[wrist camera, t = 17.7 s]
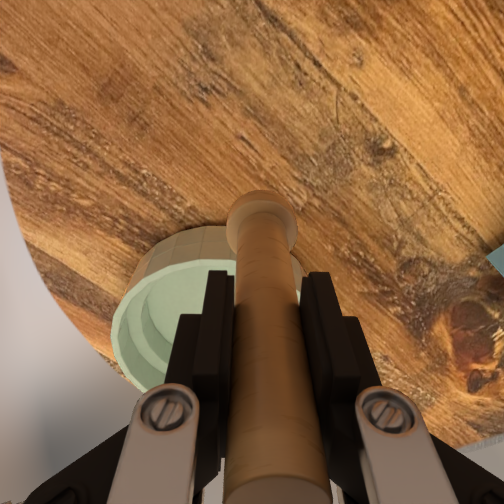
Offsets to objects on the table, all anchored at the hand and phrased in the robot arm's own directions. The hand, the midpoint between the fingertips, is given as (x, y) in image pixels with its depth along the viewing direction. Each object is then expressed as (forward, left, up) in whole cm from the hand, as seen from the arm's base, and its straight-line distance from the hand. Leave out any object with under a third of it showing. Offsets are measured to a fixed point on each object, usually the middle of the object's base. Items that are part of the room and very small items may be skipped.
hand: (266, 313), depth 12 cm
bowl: (-3, -16, -21) cm, 27 cm away
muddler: (0, 0, -7) cm, 7 cm away
